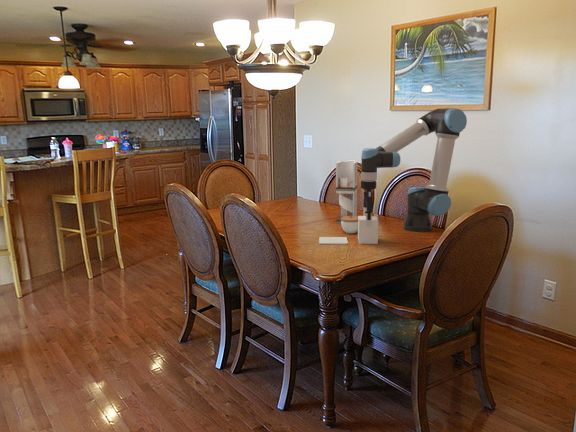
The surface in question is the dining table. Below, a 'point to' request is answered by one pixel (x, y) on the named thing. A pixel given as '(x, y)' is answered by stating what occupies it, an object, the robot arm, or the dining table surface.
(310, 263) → the dining table surface
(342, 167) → the display case
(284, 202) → the dining table surface
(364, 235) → the white block
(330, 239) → the mat
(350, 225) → the lidded jar
